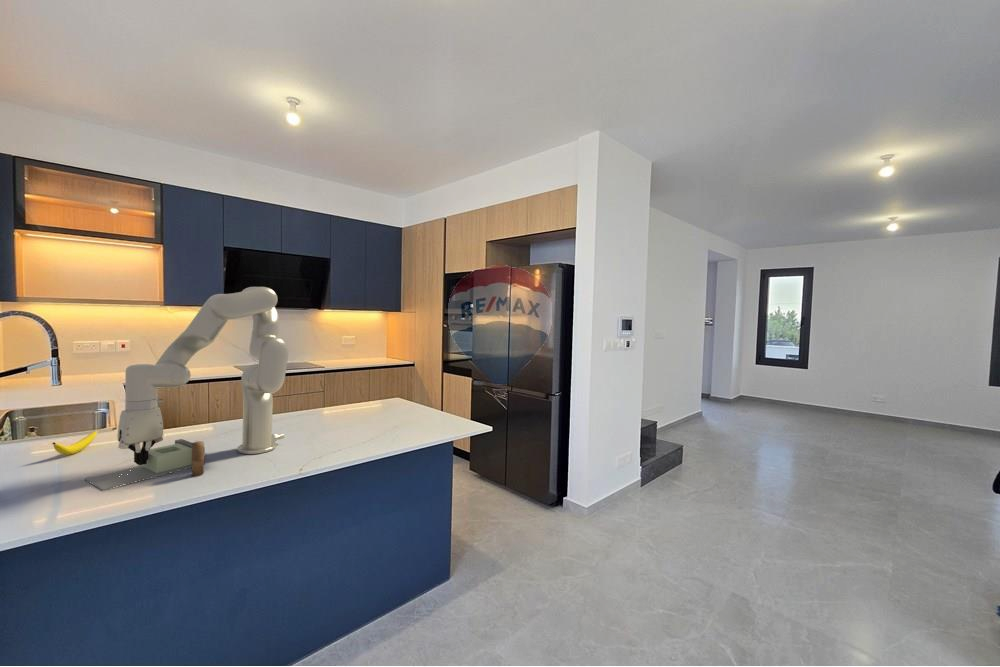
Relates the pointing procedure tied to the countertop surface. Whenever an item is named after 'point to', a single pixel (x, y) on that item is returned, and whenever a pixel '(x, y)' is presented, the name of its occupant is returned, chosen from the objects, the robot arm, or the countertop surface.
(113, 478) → the grey l-shaped plate
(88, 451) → the countertop surface
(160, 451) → the socket block
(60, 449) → the banana
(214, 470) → the countertop surface
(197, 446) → the dowel
